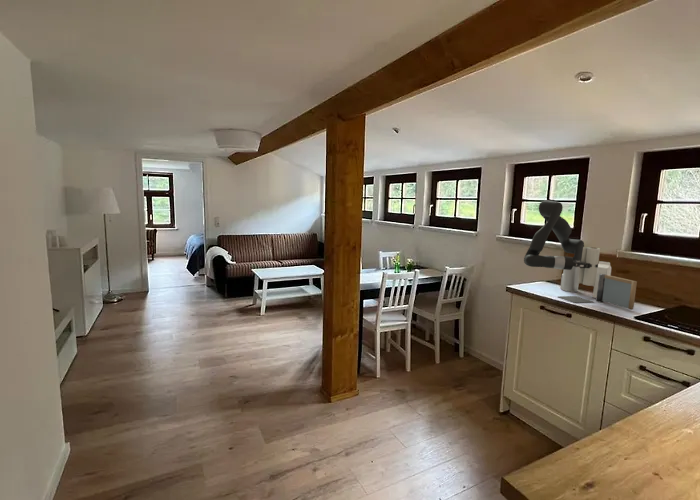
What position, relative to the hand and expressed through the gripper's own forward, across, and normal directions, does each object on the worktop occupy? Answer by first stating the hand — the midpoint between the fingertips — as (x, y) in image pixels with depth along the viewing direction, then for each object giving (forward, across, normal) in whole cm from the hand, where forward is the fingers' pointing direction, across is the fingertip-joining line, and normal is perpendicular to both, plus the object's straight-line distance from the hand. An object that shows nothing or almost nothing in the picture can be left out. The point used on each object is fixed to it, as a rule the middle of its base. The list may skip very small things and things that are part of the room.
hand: (596, 265), depth 210 cm
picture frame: (+11, -4, +21) cm, 24 cm away
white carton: (-3, 0, +12) cm, 12 cm away
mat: (-7, +4, +22) cm, 23 cm away
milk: (+9, +16, +22) cm, 28 cm away
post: (+6, +6, +22) cm, 23 cm away
